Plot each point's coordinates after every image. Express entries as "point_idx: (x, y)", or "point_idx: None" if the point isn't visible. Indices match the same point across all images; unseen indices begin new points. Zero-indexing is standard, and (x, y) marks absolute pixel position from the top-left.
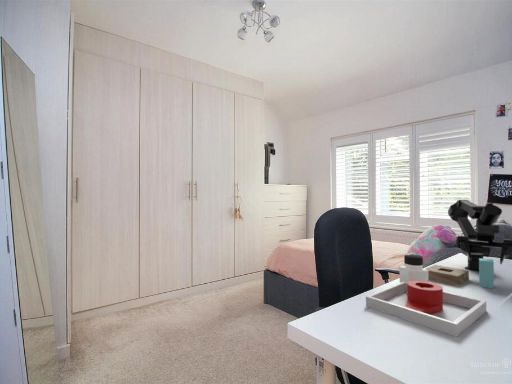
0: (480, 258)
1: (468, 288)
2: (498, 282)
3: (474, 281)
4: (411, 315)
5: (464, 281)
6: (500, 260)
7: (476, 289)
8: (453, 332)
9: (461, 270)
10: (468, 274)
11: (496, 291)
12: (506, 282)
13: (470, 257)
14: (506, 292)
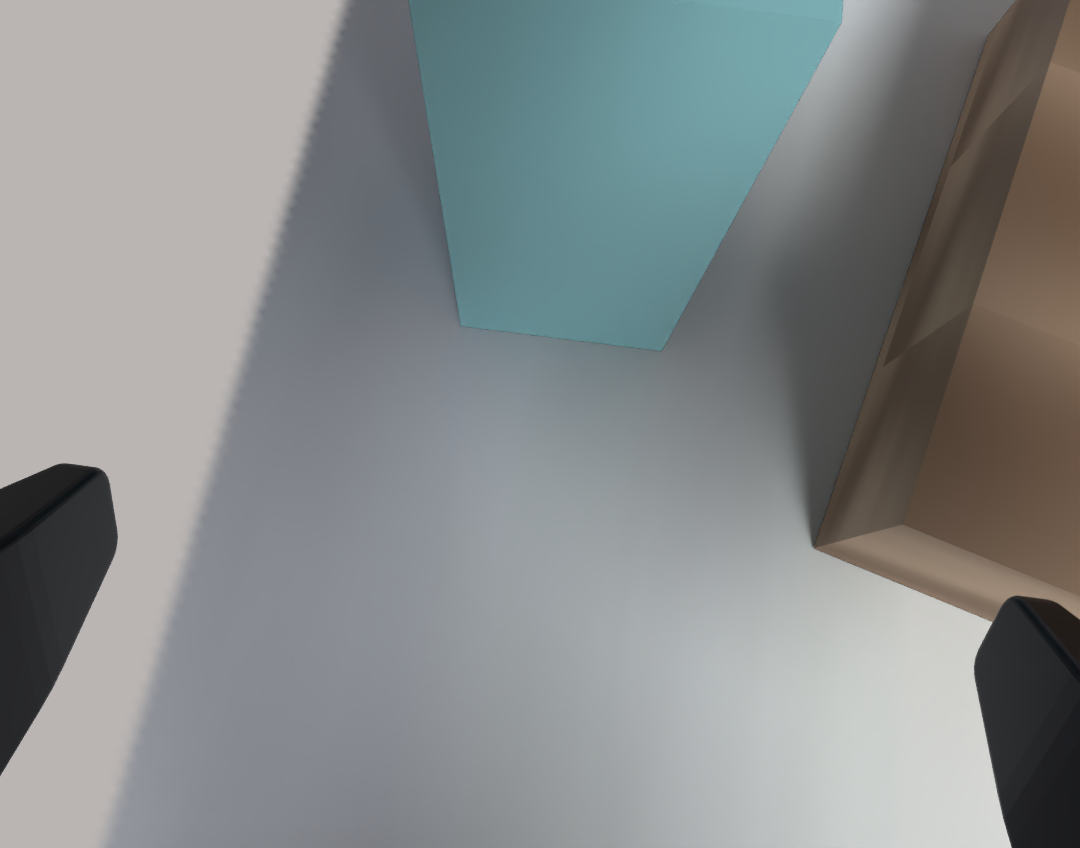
0: (802, 6)
1: (844, 35)
2: (289, 726)
3: (719, 560)
4: None
5: (908, 301)
6: (44, 503)
7: None
8: None
9: (1060, 459)
10: (875, 506)
11: None
12: (128, 817)
13: (1075, 635)
14: (335, 79)
